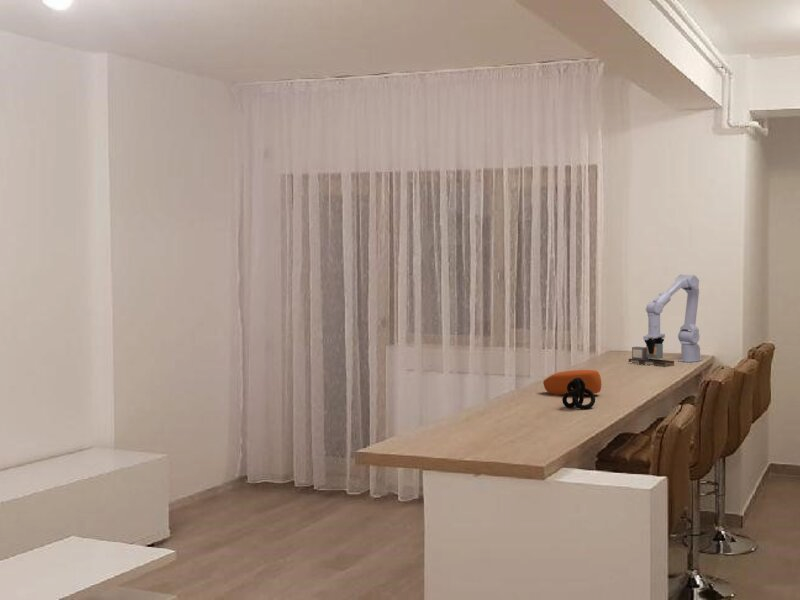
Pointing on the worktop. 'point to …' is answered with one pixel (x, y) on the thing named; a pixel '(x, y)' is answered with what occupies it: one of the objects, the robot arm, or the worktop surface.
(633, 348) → the box
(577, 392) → the squiggle
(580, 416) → the worktop surface
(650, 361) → the shelf ledge
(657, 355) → the box
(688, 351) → the robot arm
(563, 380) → the orange rounded block
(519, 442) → the worktop surface
